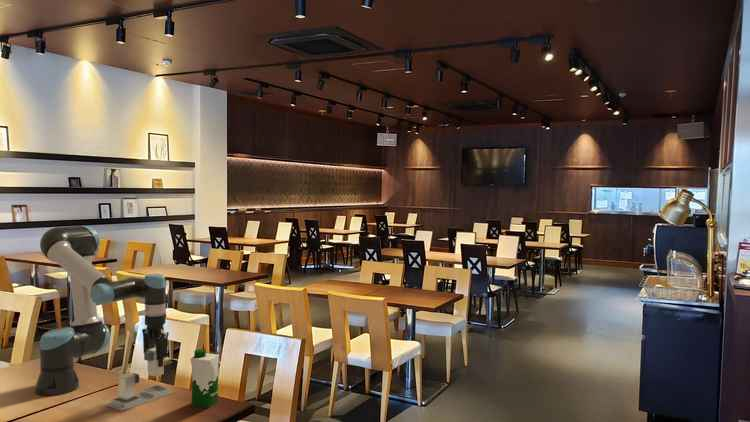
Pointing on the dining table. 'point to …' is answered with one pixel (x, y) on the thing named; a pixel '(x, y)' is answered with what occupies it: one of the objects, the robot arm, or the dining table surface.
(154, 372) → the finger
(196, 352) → the milk carton
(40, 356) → the robot arm
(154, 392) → the rail
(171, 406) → the dining table surface
